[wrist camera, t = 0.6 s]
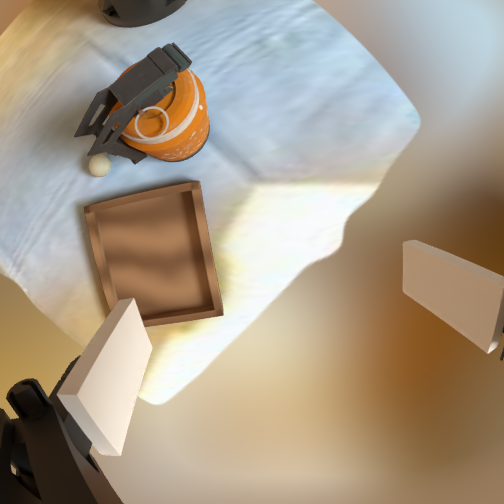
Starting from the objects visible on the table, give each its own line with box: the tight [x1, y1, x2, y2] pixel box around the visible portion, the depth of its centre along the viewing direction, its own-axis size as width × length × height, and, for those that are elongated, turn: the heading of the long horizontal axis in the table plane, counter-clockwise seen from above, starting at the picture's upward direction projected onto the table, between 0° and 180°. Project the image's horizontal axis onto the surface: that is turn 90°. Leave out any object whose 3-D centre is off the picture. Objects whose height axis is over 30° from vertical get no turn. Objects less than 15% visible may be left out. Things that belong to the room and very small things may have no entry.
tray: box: [84, 181, 224, 327], centre depth 37 cm, size 18×16×3 cm
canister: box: [74, 42, 210, 164], centre depth 25 cm, size 9×11×20 cm
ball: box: [89, 154, 111, 177], centre depth 33 cm, size 3×3×3 cm
